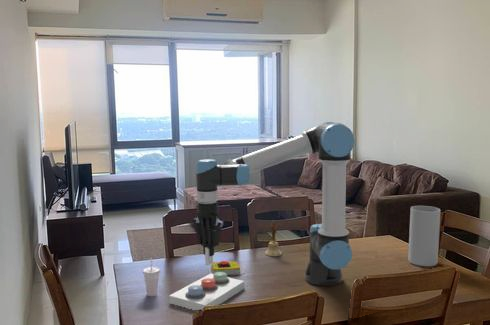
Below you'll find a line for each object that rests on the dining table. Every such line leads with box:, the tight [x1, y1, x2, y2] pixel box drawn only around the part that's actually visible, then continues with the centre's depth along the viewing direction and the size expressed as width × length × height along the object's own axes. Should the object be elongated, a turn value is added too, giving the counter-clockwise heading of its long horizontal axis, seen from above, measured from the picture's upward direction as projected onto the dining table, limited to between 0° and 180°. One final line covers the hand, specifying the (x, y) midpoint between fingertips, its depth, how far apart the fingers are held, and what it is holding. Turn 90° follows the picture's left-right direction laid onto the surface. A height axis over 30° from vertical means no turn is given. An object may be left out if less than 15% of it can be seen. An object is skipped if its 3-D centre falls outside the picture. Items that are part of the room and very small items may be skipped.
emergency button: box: [207, 260, 246, 276], centre depth 204 cm, size 9×4×15 cm
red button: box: [201, 278, 215, 289], centre depth 178 cm, size 5×5×2 cm
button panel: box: [168, 273, 245, 311], centre depth 178 cm, size 16×26×3 cm, turn 149°
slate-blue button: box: [188, 285, 203, 297], centre depth 171 cm, size 5×5×2 cm
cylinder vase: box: [407, 205, 441, 268], centre depth 214 cm, size 12×12×25 cm
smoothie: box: [142, 257, 161, 297], centre depth 179 cm, size 6×6×14 cm
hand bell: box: [264, 220, 283, 257], centre depth 227 cm, size 8×8×16 cm
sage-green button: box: [213, 272, 228, 282], centre depth 185 cm, size 5×5×2 cm
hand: (209, 263), depth 177 cm, fingers closed
